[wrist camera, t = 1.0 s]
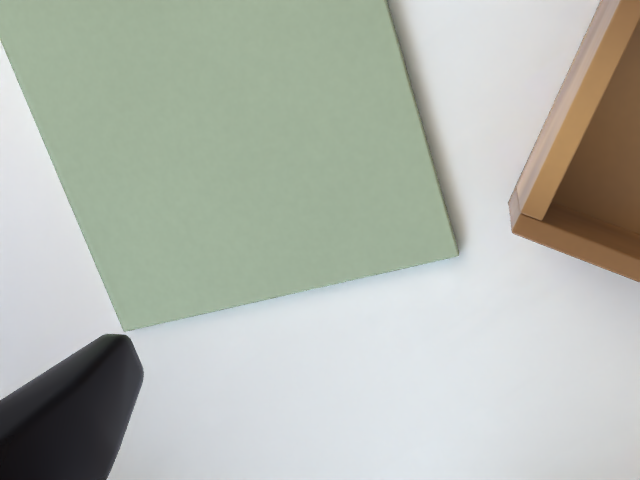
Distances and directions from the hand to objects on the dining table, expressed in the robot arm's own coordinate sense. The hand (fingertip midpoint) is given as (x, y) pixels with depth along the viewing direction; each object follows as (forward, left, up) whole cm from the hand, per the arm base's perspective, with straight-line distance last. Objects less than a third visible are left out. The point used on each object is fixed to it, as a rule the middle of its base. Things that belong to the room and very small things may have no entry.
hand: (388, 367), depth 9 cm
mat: (+8, +8, -15) cm, 19 cm away
